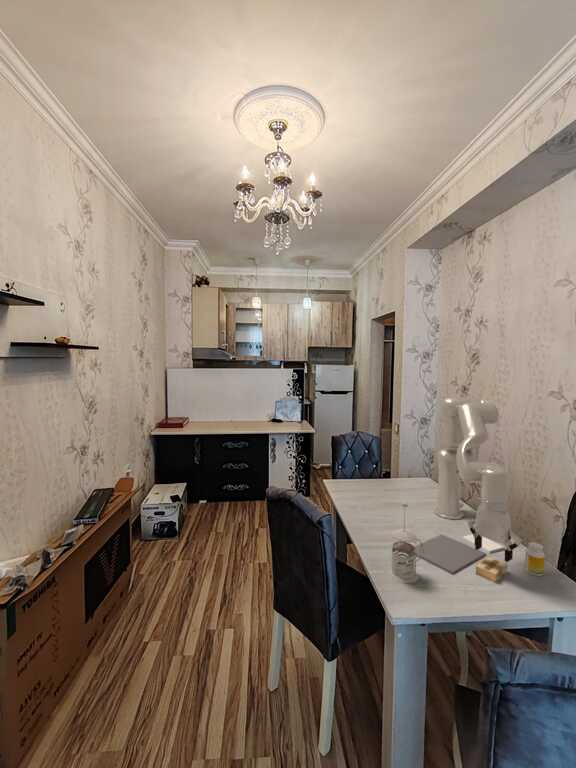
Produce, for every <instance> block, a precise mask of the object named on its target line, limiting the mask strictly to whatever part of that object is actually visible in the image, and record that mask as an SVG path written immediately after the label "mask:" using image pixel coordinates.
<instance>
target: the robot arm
mask: <svg viewBox="0 0 576 768" xmlns="http://www.w3.org/2000/svg"><path fill="white" fill-rule="evenodd" d="M441 403H442V404H441V411H442V414H443V419H444V420H443V421H444V422H443V429H442V431H443V432H442V433H443V434H442V444H443V445H444V447H445V448H442V449H439V450H438V452H436V453H437V454H436V459H437V466H438V485H437V486H438V490H437V491H438V496H437V506H436V507H435V508H434V514H435V515H437V516H439V517H441V518H443V519H447V520H461V519H462V518H464V513H463V512H462V511H461V508H464V507H465V506H464V503H463V502H461V482H462V481H463V482H465V483H470V484H481V496H478V497H477V501H478V502H480V504H479V505H478V508H477V511H476V516H475V519H473V520H469V521H467V526H468V527H469V531H470V532H471V533H472V534H473V537H474V538H475V545H474V546H475V547H474V548H475V549H476V550H481V549H480V548H482V537H485V538H487V539H489V540H491V541H493V542H495V543H497V544H503V545H504V546H503V547H505V550H504V561H505V562H504V563H508V562H510V561H511V560H512V559H513V556H514V555H513V553H514V549H516V548H518V547H520V544H522V542H523V539H522V538H521V537H519V536H518V535H517V534H516V533H515V532H513V531H512V524H511V523H512V522H511V521H512V520H511V516H510V513H509V510H508V509H507V508H508V479H509V478H508V472H507V471H506V470H505V469H503V467H501V465H500V464H498V463H497V462H489V461H488V462H487V461H486V462H485V461H479V458H480V451H481V445H483V444H484V443H486V442H487V441H488V440H489V433H488V430H487V426H486V424H487V425H493V424H497V422H499V418H500V413H499V409H498V408H497V407H498V406H496V404H495V403H493V402H492V401H490V400H488V399H486V398H482V397H460V396H459V397H457V396H454V397H445V398H444V399H443V400H442V402H441ZM446 447H447V448H446ZM456 470H458V472H456ZM458 473H459V474H458ZM461 480H462V481H461ZM472 534H471V535H472ZM511 539H512V540H513V541H514V543H513V542H512V541H511Z"/></svg>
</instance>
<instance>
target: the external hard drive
mask: <svg viewBox="0 0 576 768" xmlns="http://www.w3.org/2000/svg"><path fill="white" fill-rule="evenodd" d="M462 540H465V541H466V542H468V543H470V544H471V545H473V546H475V538H474V537H473V534H468V535H463V536H462ZM505 549H506V547H505V546H503V545H501V544H500V543H498V542H496V541H493V540H490V539H488V538H485V537H482V548H480V549H479V550H482V551H484V552H485V553H488V554H493V553H497V552H501V550H502V551H505Z"/></svg>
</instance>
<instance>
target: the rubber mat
mask: <svg viewBox="0 0 576 768" xmlns="http://www.w3.org/2000/svg"><path fill="white" fill-rule="evenodd" d="M421 543H422V544H423V546H424V554H423V546H422V551H421V545H422V544H420V543H419V544H417V545H414V547H415V550H414V555H415V552H416V556H418V555H419V554H420V555H419V556H418V557H417V558H418V559H420V558H421V556H422V554H423V556H422V560H423V559H424V561H425V562H427V563H429V564H431V565H433V566H435V567H437V568H439V569H440V570H443V571H445V572H447V573H449V574H451V575H454V574H456V573H457V572H459V571H461V570H463V569H465V568H466V567H467V566H469V565H471V564H473V563H474V562H476V561H478V560H480V559H481V558H483V557H485V556H487V555H486V554H487V552H485V551H484V552H483V550H482V551H481V549H478V550H476V549H475V547H472V546H470V545H468V544H466V543H463V542H460V541H458V540H456V539H454V538H451V537H449V536H446V535H445V534H443V533H442V534H439V535H437V536H434V537H432V538H430V539H428V540H426V541H424V542H421ZM420 551H421V553H420Z"/></svg>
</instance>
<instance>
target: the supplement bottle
mask: <svg viewBox="0 0 576 768" xmlns="http://www.w3.org/2000/svg"><path fill="white" fill-rule="evenodd" d="M543 550H544V546H543V545H542V544H540V543H538V542H533V541H531V542H529V543H528V548H526V549H525V561H524V562H525V563H524V569H525V571H526V572H527V573H529V574H530V575H532V576H536V577H537V576H538V577H542V576H543V575H545V559H546V556H545V553H544V551H543Z"/></svg>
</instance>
